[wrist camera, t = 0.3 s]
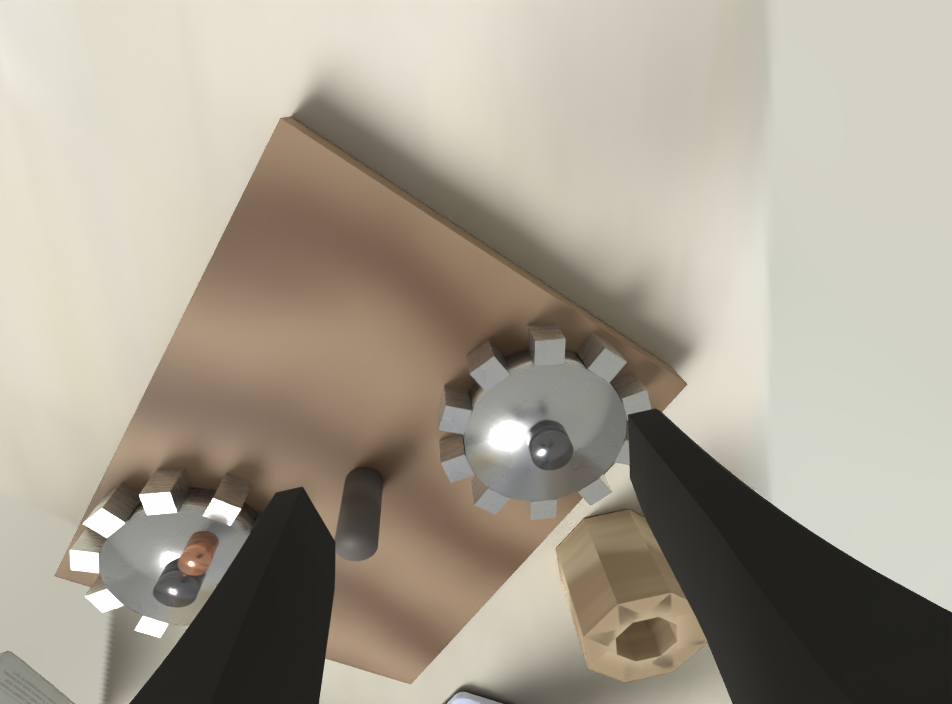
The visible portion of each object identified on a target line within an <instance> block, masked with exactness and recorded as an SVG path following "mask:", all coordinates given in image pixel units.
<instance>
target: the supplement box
mask: <svg viewBox="0 0 952 704" xmlns="http://www.w3.org/2000/svg"><path fill="white" fill-rule="evenodd" d="M0 704H74V703H73V702H72V701H71V700H69V699H68V698H67V697H66V696H65V695H64V694H63V693H61V692H60V691H59V690H58V689H56V688H55V687H54V686H53V685H52V684H50V683H49V682H48V681H47V680H45V679H44V678H43V677H42V676H41V675H39V674H38V673H37V672H36V671H34V670H33V669H32V668H31V667H30V666H28V665H27V664H26V663H25V662H24V661H23V660H21V659H20V658H19V657H17V656H16V655H15V654H13V653H12V652H10V651H6V652H4V653H1V654H0Z"/></svg>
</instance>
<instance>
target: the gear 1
mask: <svg viewBox="0 0 952 704" xmlns="http://www.w3.org/2000/svg"><path fill="white" fill-rule="evenodd" d="M251 484H252V483H250V482H247V481H245V480H242V479H240V478H237V477H235V476H232V475H230V474H227V473H226V474H225V475H224V477H223V479H222V481H221V482H220V484H219V486H218V487H217V489H216V491H215V490H211V489H205V488H197V487H192V485H191V482H190V479H189V476H188V474H187V471H186V468H185V467H177V468H165V469H156V471H155V472H154V474H153V475H152V477H151V478H150V480H149V481H148V482H147V484H146V485H145V487H144V488H143V490H142V491H141V493H140V494H139V493H138V492H136V491H135V490H133V489H132V488H130V487H129V486H127V485H126V484H124V483H123V482H121V483H120V484H119V485H117V486H116V487H115V488H114V489H113V490H111V491H110V492H109V493H108V494H106V495H105V496H104V497H103V498H102V500H101V501H100V502H99V504H98V505H97V506H96V507H95V509H94V510H93V511H92V513H91V514H90V515H89V517H88V518H87V519H86V520H85V522H84V523H83V524H85V525H86V526H88V527H87V528H86V529H85V531H84V532H83V533H82V535H81V536H80V537H79V539H78V540H77V541H76V543H75V544H74V545H73V547H72V548H71V549H70V565H71V570H75V571H85V572H94V573H99V572H100V574H99V576H98V577H97V579H96V580H95V582H94V583H93V585H92V586H91V588H90V590H89V591H88V593H87V594H86V596H85V598H86V599H88V600H89V601H90V602H91V603H92V604H93V605H94V606H95V607H96V608H97V609H98V610H100V612H102V613H104V612H107V611H110V610H112V609H115V608H118V607H121V606H124V605H125V606H127V607H128V608H130V609H131V610H133V611H135V612H137V613H139V614H141V615H142V617H141V618H140V620H139V622H138V624H137V626H136V628H135V631H139V632H142V633H146V634H149V635H153V636H156V637H161V636H162V634H163V632H164V631H165V629H166V628H167V626H168V625H169V623H171V624H178V625H190V624H191V623H192V621H193V620H194V618H195V617H196V616H197V614H198V613H199V611H200V610H201V608H202V607H203V606H204V604H205V603H206V601H207V600H208V598H209V597H210V595H211V594H212V592H213V591H214V589H215V588H216V586H217V585H218V583H219V582H220V580H221V579H222V577H223V575H224V574H225V572H226V571H227V569H228V568H229V566H230V565H231V563H232V561H233V560H234V558H235V557H236V555H237V554H238V552H239V550H240V549H241V547H242V546H243V544H244V542H245V541H246V539H247V538H248V536H249V534H250V533H251V531H252V530H253V528H254V526H255V525H256V523H257V521H258V520H259V518H260V517H261V515H262V513H263V512H264V511H261V512H259V513H258V512H257V511H255V510H254V509H253V508H252V507H250V506H249V505H248V504H246V503H244V501H245V499H246V496H247V494H248V492H249V489H250V487H251Z"/></svg>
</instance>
